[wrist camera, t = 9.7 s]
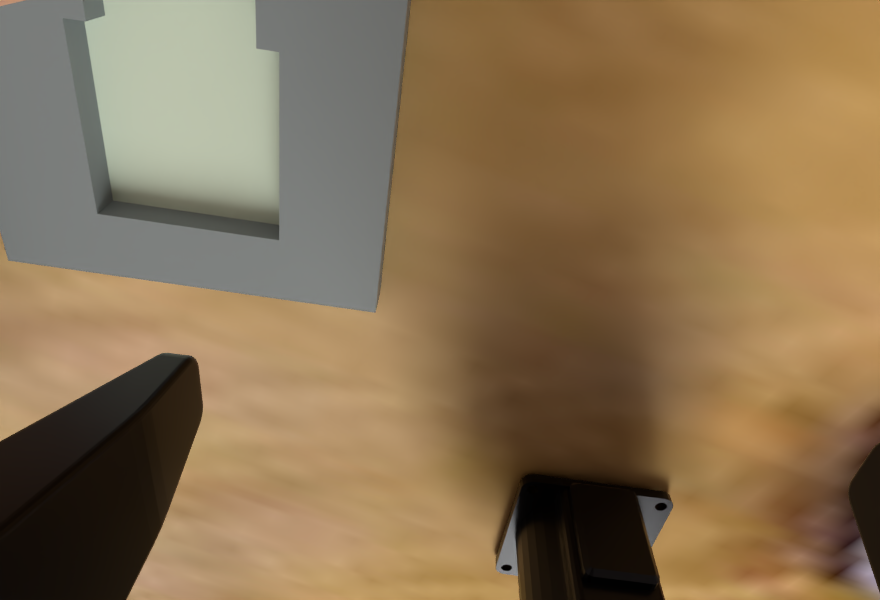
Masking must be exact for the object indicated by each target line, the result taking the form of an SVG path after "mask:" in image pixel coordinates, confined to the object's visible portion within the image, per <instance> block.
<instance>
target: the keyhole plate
mask: <svg viewBox="0 0 880 600" xmlns="http://www.w3.org/2000/svg"><path fill="white" fill-rule="evenodd" d="M410 5H411V0H25V1H20V2H16V3H12V4H8V5H3V6H0V232H1V236H2V239H3V243H4V246H5V250H6V254H7V257H8V261H16V262H23V263H30V264H37V265H44V266H51V267H58V268H65V269H72V270H79V271H86V272H93V273H100V274H107V275H114V276H121V277H128V278H135V279H142V280H149V281H157V282H164V283H171V284H178V285H185V286H192V287H199V288H206V289H213V290H220V291H227V292H234V293H241V294H248V295H255V296H262V297H269V298H276V299H283V300H290V301H297V302H305V303H312V304H319V305H326V306H333V307H340V308H347V309H354V310H361V311H368V312H376V308H377V304H378V300H379V295H380V288H381V279H382V269H383V260H384V251H385V241H386V232H387V222H388V213H389V203H390V194H391V185H392V175H393V166H394V156H395V147H396V137H397V128H398V118H399V109H400V100H401V90H402V81H403V71H404V62H405V52H406V43H407V34H408V24H409V15H410Z"/></svg>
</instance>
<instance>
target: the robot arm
mask: <svg viewBox="0 0 880 600" xmlns="http://www.w3.org/2000/svg"><path fill="white" fill-rule="evenodd" d="M202 412H203V401H202V392H201V384H200V375H199V367H198V363H197V361H196V359H195V358H194V357H192V356H189V355H180V354H172V353H162V354H160V355H157V356H155V357H154V358H152V359H150V360H148V361H146V362H144V363H143V364H141V365H139V366H137V367H135V368H133V369H132V370H130V371H128V372H126V373H124V374H123V375H121V376H119V377H117V378H115V379H113V380H112V381H110V382H108V383H106V384H104V385H102V386H101V387H99V388H97V389H95V390H93V391H91V392H90V393H88V394H86V395H84V396H82V397H81V398H79V399H77V400H75V401H73V402H71V403H70V404H68V405H66V406H64V407H62V408H60V409H59V410H57V411H55V412H53V413H51V414H50V415H48V416H46V417H44V418H42V419H40V420H39V421H37V422H35V423H33V424H31V425H29V426H28V427H26V428H24V429H22V430H20V431H18V432H17V433H15V434H13V435H11V436H9V437H8V438H6V439H4V440H2V441H0V600H126V599H127V597H128V595H129V593H130V591H131V589H132V587H133V585H134V583H135V581H136V579H137V577H138V575H139V573H140V571H141V569H142V567H143V565H144V563H145V561H146V559H147V557H148V555H149V553H150V551H151V549H152V547H153V545H154V543H155V541H156V539H157V536H158V534H159V532H160V530H161V528H162V525H163V523H164V520H165V518H166V515H167V512H168V510H169V507H170V504H171V502H172V499H173V496H174V493H175V491H176V488H177V485H178V482H179V480H180V477H181V474H182V471H183V469H184V466H185V463H186V460H187V458H188V455H189V452H190V449H191V447H192V444H193V441H194V438H195V436H196V433H197V430H198V427H199V425H200V421H201V417H202ZM848 495H849V501H850V505H851V508H852V511H853V514H854V517H855V520H856V523H857V526H858V529H859V532H860V535H861V538H862V541H863V544H864V547H865V550H866V553H867V556H868V559H869V562H870V565H871V568H872V571H873V574H874V577H875V580H876V583H877V586H878V589H879V592H880V443H878V444H877V445H875V447H874V448H873V449H872V450H871V452H870V453H869V455H868V456H867V458H866V459H865V461H864V462H863V464H862V465H861V467H860V468H859V470H858V471H857V473H856V474H855V476H854V477H853V479H852V480H851V482H850V485H849V491H848ZM672 508H673V503H672V500H671V497H670V495H669V494H668V493H667V492H663V491H656V490H649V489H641V488H633V487H626V486H618V485H611V484H603V483H596V482H588V481H581V480H573V479H566V478H558V477H550V476H543V475H535V474H530V475H526V476H524V477H523V478H522V479H521V481H520V484H519V487H518V490H517V493H516V496H515V500H514V503H513V506H512V509H511V512H510V515H509V518H508V522H507V525H506V528H505V531H504V534H503V537H502V541H501V544H500V547H499V550H498V553H497V556H496V570H497V571H498V572H500V573H502V574H508V575H516V576H518V583H519V598H520V600H665V598H664V595H663V591H662V587H661V584H660V577H659V574H658V570H657V567H656V563H655V559H654V556H653V552H652V548H651V547H652V545H653V544H654V542H655V540H656V538H657V536H658V534H659V532H660V531H661V529H662V527H663V525H664V523H665V521H666V519H667V517H668V516H669V514H670V512H671V510H672Z"/></svg>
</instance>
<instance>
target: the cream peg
mask: <svg viewBox="0 0 880 600" xmlns="http://www.w3.org/2000/svg"><path fill="white" fill-rule="evenodd" d="M20 1H25V0H0V6H3V5H8V4H12V3H16V2H20Z"/></svg>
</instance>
